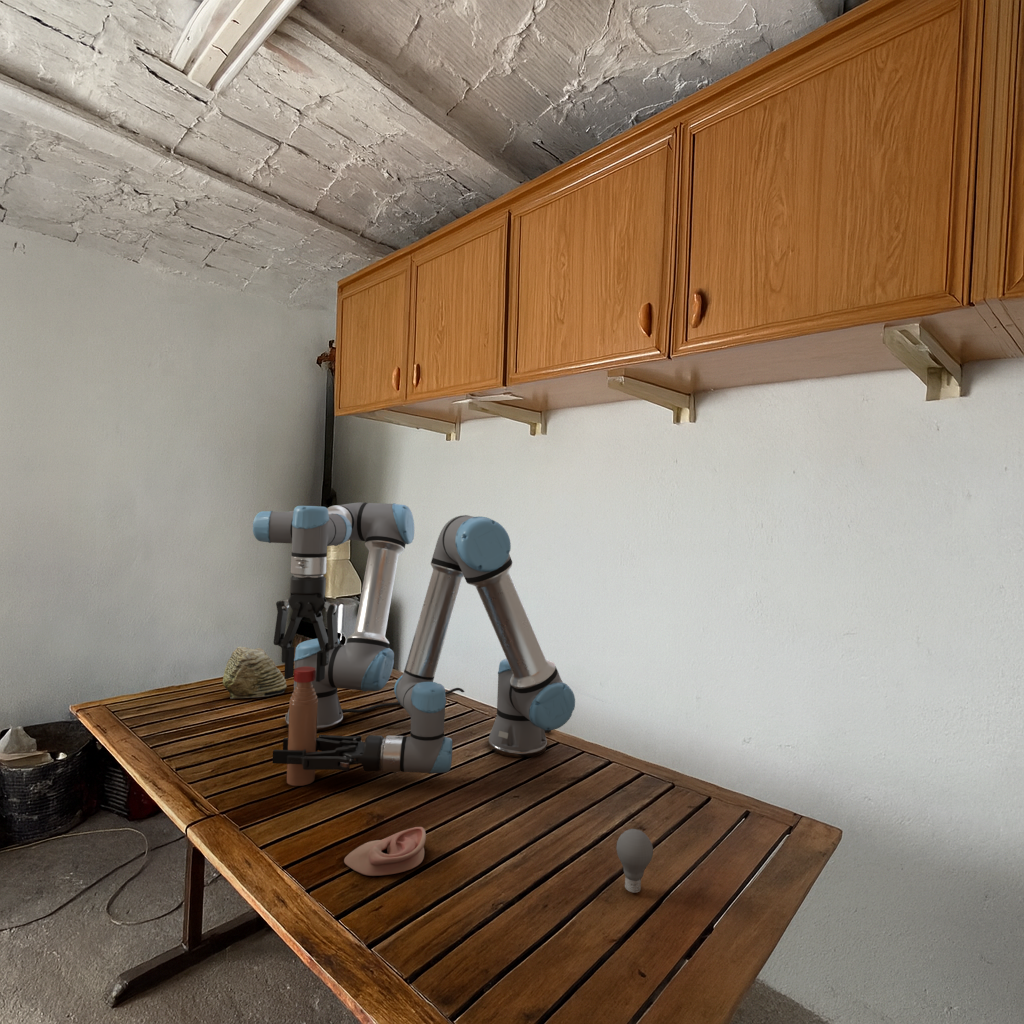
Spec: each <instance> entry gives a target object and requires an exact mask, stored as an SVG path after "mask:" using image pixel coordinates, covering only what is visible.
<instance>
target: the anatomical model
mask: <svg viewBox="0 0 1024 1024" xmlns="http://www.w3.org/2000/svg"><path fill="white" fill-rule="evenodd" d="M426 839H427V834H426V829H425V827H423V826H415V827H411V828H407V829H404V830H401V831H398V832H396V833H394V834H392V835H389V836H387V837H385V838H383V839H376V840H370V841H368V842H365V843H363V844H361V845H359V846H357V847H356V848H355V849H353V850H352V851H350V852H349V853H348V854H347V855H346V856H345V857H344V859H343V863H344V865H346V866H347V867H348V868H350V869H352V870H353V871H355V872H356V873H359V874H361V875H364V876H369V877H377V876H389V875H394V874H395V875H396V874H399V873H403V872H407V871H409V870H412V869H414V868H416V867H418V866H419V865H421V863H422V862H423V860H424V859H425V848H424V846H425V844H426Z"/></svg>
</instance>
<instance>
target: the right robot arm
mask: <svg viewBox="0 0 1024 1024" xmlns="http://www.w3.org/2000/svg"><path fill="white" fill-rule="evenodd" d="M511 545H512V544H511V539H510V535H509V534H508V531H507V530H506V529H505V527H503V525H502V524H500V523H499V522H497V521H496V520H494V519H492V518H489V517H488V516H487V517H486V516H472V515H468V514H464V515H457V516H455V517H453V518H451V519H450V520H448V521H447V522H446V523H445V524H444V526H443V527H442V528H441V530H440V532H439V535H438V537H437V540H436V543H435V547H434V551H433V554H432V557H431V561H430V566H431V568H432V573H431V576H430V579H429V582H428V583H429V584H428V587H427V590H426V593H425V597H424V601H423V604H422V608H421V611H420V615H419V618H418V622H417V625H416V629H415V632H414V635H413V639H412V643H411V647H410V649H409V652H408V656H407V659H406V664H405V666H404V670H403V673H402V675H400V676H399V677H398V678H397V680H396V681H395V683H394V687H393V691H394V696H395V698H396V701H397V702H399V703H400V704H401V705H400V706H401V707H403V709H404V710H405V712H406V713H407V714H408V715H409V717H410V731H409V734H410V735H409V736H407V735H386V736H385V737H384V736H383V735H376V734H375V735H373V734H369V735H367V736H366V738H365V740H364V741H362V739H363V738H362V736H361V735H354V736H349V735H332V734H319V735H318V737H316V752H308V753H306V749H304V750H303V751H302V750H288V737H283V739H282V749H273V750H272V764H277V765H278V764H279V765H280V764H281V765H287V764H302V765H303V769H304V770H315V771H317V770H319V771H321V770H322V771H323V770H324V771H325V770H326V771H327V770H328V771H329V770H330V771H333V770H334V771H345V772H348V771H350V766H353V765H362V769H363V771H365V772H380V771H381V770H382V771H383V772H388V773H389V772H390V773H392V774H397V773H418V774H420V773H421V774H429V775H430V774H431V775H432V774H445V773H448V772H450V771H451V768H452V762H453V743H454V742H453V739H452V738H451V737H447V736H445V720H446V719H445V717H446V704H447V698H446V695H445V692H446V687H445V686H444V685H443V684H441V683H439V682H436V681H434V679H435V676H436V673H437V668H438V665H439V662H440V658H441V655H442V652H443V648H444V645H445V640H446V637H447V635H448V630H449V627H450V624H451V620H452V616H453V612H454V611H455V610H454V609H455V606H456V602H457V599H458V596H459V592H460V589H461V586H462V583H463V578H464V580H465V583H466V584H468V585H471V586H473V587H475V589H476V591H477V593H478V595H479V598H480V600H481V602H482V606H483V607H484V610H485V612H486V614H487V616H488V618H489V621H490V624H491V627H492V628H493V630H494V633H495V636H496V637H497V640H498V642H499V644H500V647H501V649H502V651H503V653H504V656H505V658H503V659H502V660H501V661H500V662H499V664H498V671H497V695H496V696H497V697H496V698H497V700H496V715H495V720H494V722H493V725H492V728H491V730H490V733H489V735H488V748H489V749H490V750H491V751H492V752H493V753H496V754H498V755H502V756H506V757H511V758H531V757H535V756H536V757H537V756H539V755H541V754H544V753H545V751H547V747H548V739H547V735H546V734H549V733H551V732H552V731H555V730H558V729H560V728H562V727H563V726H565V724H567V723H568V722H569V720H570V719H571V718H572V715H573V712H574V710H575V708H576V697H575V696H576V695H575V693H574V691H573V690H572V688H571V687H570V686H569V685H568V684H567V683H566V682H563V679H562V678H561V675H560V673H559V670H558V668H557V666H556V664H555V662H554V661H553V660H550V659H547V658H546V656H545V652H544V650H543V649H542V646H541V644H540V642H539V639H538V637H537V634H536V632H535V630H534V627H533V624H532V622H531V620H530V617H529V615H528V613H527V610H526V607H525V606H524V603H523V601H522V598H521V596H520V593H519V590H518V588H517V587H516V584H515V581H514V579H513V577H512V574H511V569H512V567H513V565H514V562H513V560H512V556H511V555H510V552H511V549H512V547H511Z"/></svg>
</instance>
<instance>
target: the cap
mask: <svg viewBox="0 0 1024 1024" xmlns="http://www.w3.org/2000/svg"><path fill="white" fill-rule="evenodd" d="M315 677H316V669H315V668H314V667H298V668H295V669H294V674H293V682H294V681H295V682H300V683H306V682H312V681H314V680H315Z"/></svg>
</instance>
